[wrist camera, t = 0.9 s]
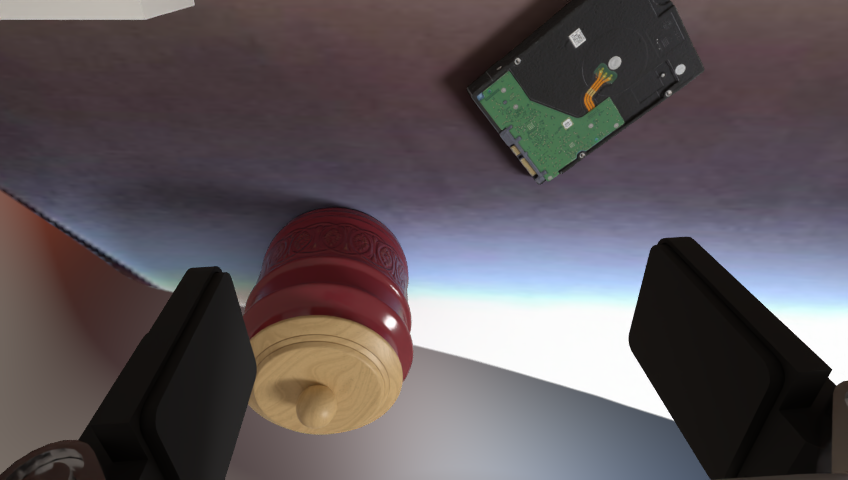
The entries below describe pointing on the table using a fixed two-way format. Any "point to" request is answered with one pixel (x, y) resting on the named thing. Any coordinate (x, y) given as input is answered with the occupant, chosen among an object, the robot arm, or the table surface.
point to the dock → (88, 9)
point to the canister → (330, 323)
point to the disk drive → (585, 79)
